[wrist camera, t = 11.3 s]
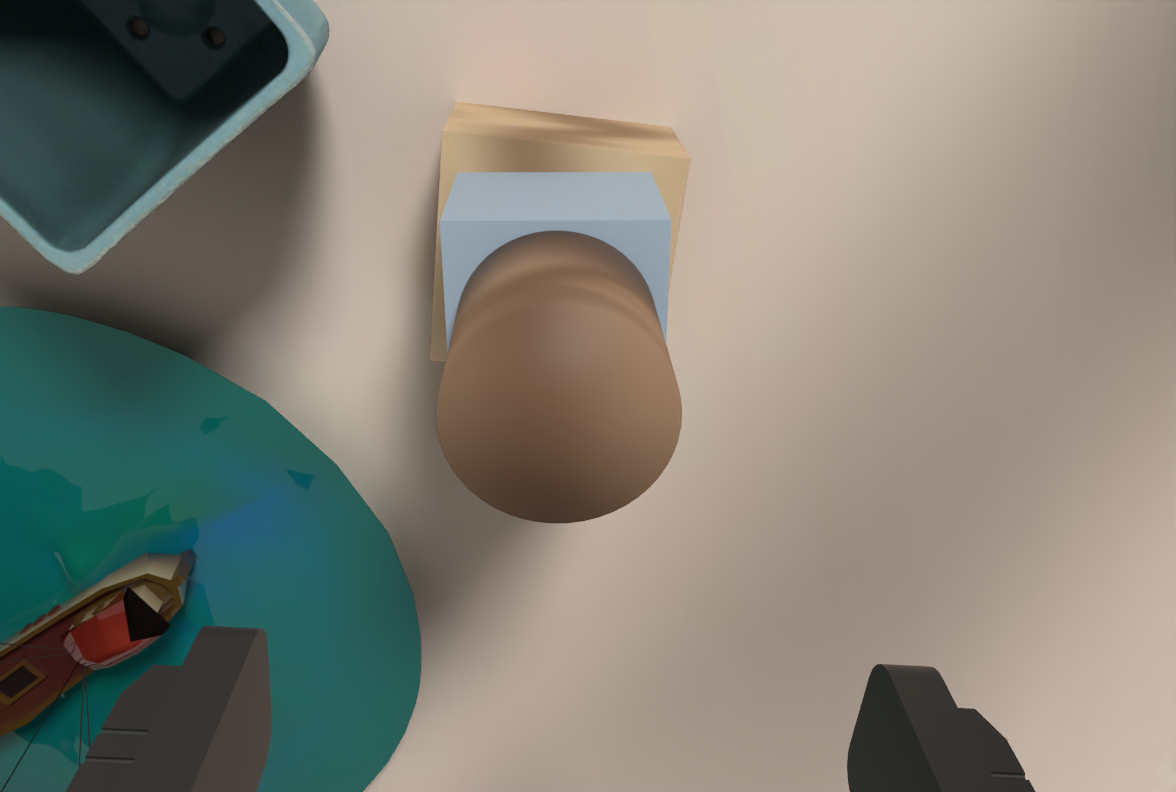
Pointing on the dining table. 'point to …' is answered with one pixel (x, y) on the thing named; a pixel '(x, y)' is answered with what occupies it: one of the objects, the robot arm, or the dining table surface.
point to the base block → (551, 164)
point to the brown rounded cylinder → (558, 381)
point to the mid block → (554, 222)
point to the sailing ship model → (182, 558)
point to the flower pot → (131, 106)
